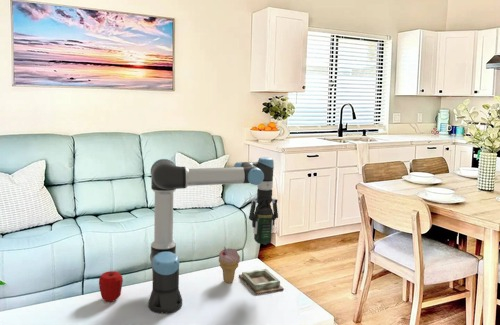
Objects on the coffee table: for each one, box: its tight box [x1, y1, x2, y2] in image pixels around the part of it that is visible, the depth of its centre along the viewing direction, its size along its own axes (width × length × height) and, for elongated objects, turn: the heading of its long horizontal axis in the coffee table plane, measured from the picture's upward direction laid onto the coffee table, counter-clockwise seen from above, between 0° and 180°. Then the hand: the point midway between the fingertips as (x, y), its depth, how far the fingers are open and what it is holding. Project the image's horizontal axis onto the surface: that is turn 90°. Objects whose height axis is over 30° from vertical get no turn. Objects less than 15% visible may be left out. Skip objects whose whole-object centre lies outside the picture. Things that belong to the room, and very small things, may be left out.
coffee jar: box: [253, 206, 273, 245], centre depth 215 cm, size 10×8×19 cm
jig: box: [238, 268, 285, 296], centre depth 220 cm, size 15×22×4 cm
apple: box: [98, 270, 124, 303], centre depth 196 cm, size 10×10×14 cm
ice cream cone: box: [218, 247, 241, 284], centre depth 219 cm, size 11×11×20 cm
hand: (262, 232), depth 216 cm, fingers closed on coffee jar, 8 cm apart
